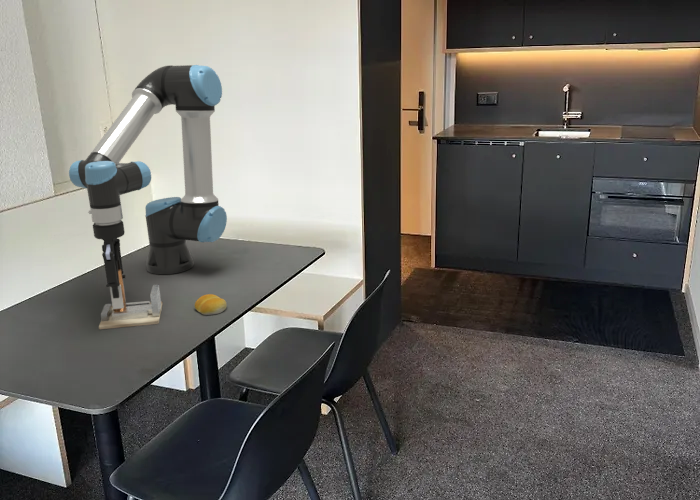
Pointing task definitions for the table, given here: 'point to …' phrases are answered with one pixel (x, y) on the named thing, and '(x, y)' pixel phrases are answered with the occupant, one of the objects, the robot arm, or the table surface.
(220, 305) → the bread roll
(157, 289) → the ram
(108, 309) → the rails
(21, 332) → the table surface
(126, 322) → the board
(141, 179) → the robot arm
